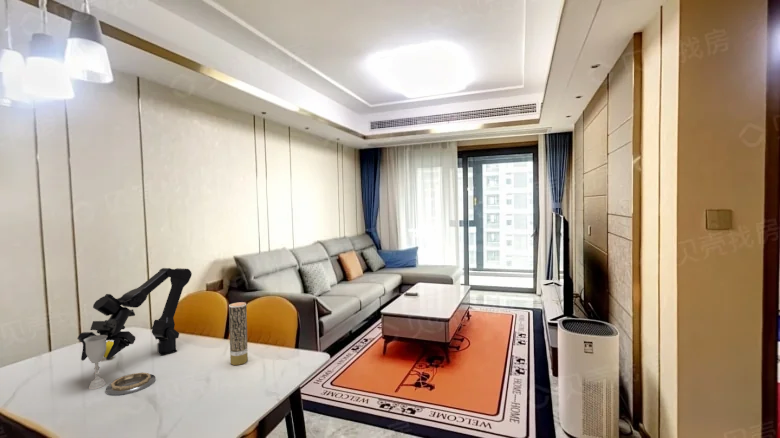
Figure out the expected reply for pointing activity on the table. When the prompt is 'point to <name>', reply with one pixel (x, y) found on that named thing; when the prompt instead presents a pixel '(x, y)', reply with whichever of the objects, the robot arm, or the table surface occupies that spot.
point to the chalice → (96, 356)
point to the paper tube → (238, 333)
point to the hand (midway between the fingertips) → (94, 359)
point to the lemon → (108, 348)
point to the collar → (130, 384)
